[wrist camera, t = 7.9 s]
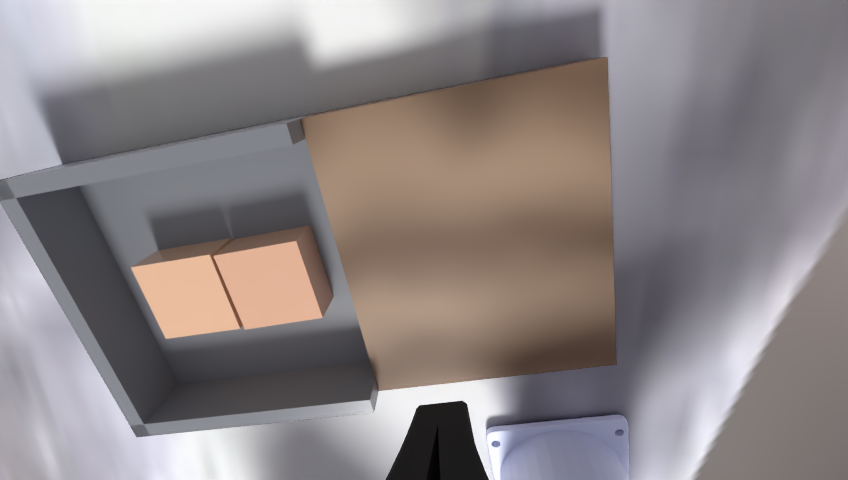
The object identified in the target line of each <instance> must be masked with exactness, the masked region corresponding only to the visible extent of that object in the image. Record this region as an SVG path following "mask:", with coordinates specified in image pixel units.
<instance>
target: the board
mask: <svg viewBox="0 0 848 480" xmlns="http://www.w3.org/2000/svg"><path fill="white" fill-rule="evenodd" d="M300 121H301V125H302V128H303V132H304V135H305V138H306V142H307V145H308V149H309V152H310V156H311V159H312V163H313V166H314V170H315V173H316V176H317V180H318V183H319V187H320V190H321V194H322V197H323V201H324V204H325V208H326V211H327V214H328V218H329V221H330V225H331V228H332V232H333V235H334V239H335V242H336V246H337V249H338V252H339V256H340V259H341V263H342V266H343V270H344V273H345V277H346V280H347V284H348V287H349V290H350V294H351V297H352V301H353V304H354V308H355V311H356V315H357V318H358V321H359V325H360V328H361V332H362V335H363V339H364V342H365V346H366V349H367V353H368V356H369V359H370V363H371V366H372V370H373V373H374V377H375V380H376V384H377V387H378V391H382V390H391V389H400V388H409V387H418V386H427V385H436V384H445V383H454V382H463V381H472V380H481V379H490V378H500V377H509V376H518V375H527V374H536V373H545V372H554V371H563V370H572V369H581V368H590V367H599V366H608V365H617V360H616V326H615V293H614V259H613V226H612V193H611V159H610V126H609V92H608V59H607V57H603V58H590V59H585V60H580V61H575V62H570V63H565V64H560V65H555V66H550V67H545V68H540V69H535V70H530V71H525V72H520V73H515V74H510V75H505V76H500V77H495V78H490V79H485V80H480V81H475V82H471V83H466V84H461V85H456V86H451V87H446V88H441V89H436V90H431V91H426V92H421V93H416V94H411V95H406V96H401V97H396V98H391V99H386V100H381V101H376V102H371V103H366V104H361V105H356V106H351V107H346V108H341V109H336V110H331V111H326V112H321V113H316V114H313V115H310V116H307V117H304V118H301V119H300Z"/></svg>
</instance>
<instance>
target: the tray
mask: <svg viewBox="0 0 848 480" xmlns="http://www.w3.org/2000/svg"><path fill="white" fill-rule="evenodd" d="M311 115H313V114H311ZM307 116H310V115H306V116H301V117H296V118H291V119H286V120H281V121H276V122H271V123H266V124H261V125H256V126H251V127H246V128H241V129H236V130H231V131H226V132H221V133H216V134H211V135H206V136H202V137H197V138H192V139H187V140H182V141H177V142H172V143H167V144H162V145H157V146H152V147H147V148H142V149H137V150H132V151H127V152H122V153H117V154H112V155H107V156H102V157H97V158H92V159H87V160H82V161H77V162H72V163H67V164H62V165H58V166H54V167H50V168H46V169H42V170H38V171H34V172H30V173H26V174H22V175H18V176H14V177H10V178H6V179H2V180H0V203H1V205H2V207H3V208H4V210H5V212H6V213H7V215H8V217H9V219H10V220H11V222H12V224H13V225H14V227H15V229H16V231H17V232H18V234H19V236H20V238H21V239H22V241H23V243H24V244H25V246H26V248H27V250H28V251H29V253H30V255H31V256H32V258H33V260H34V262H35V263H36V265H37V267H38V268H39V270H40V272H41V274H42V275H43V277H44V279H45V280H46V282H47V284H48V286H49V287H50V289H51V291H52V292H53V294H54V296H55V298H56V299H57V301H58V303H59V305H60V306H61V308H62V310H63V311H64V313H65V315H66V317H67V318H68V320H69V322H70V323H71V325H72V327H73V329H74V330H75V332H76V334H77V335H78V337H79V339H80V341H81V342H82V344H83V346H84V347H85V349H86V351H87V353H88V354H89V356H90V358H91V360H92V361H93V363H94V365H95V366H96V368H97V370H98V372H99V373H100V375H101V377H102V378H103V380H104V382H105V384H106V385H107V387H108V389H109V390H110V392H111V394H112V396H113V397H114V399H115V401H116V402H117V404H118V406H119V408H120V409H121V411H122V413H123V414H124V416H125V418H126V420H127V421H128V423H129V425H130V427H131V428H132V430H133V432H134V433H135V435H136V437H144V436H153V435H163V434H172V433H182V432H192V431H201V430H211V429H220V428H230V427H240V426H249V425H259V424H268V423H278V422H288V421H297V420H307V419H316V418H326V417H336V416H345V415H355V414H364V413H374V409H375V405H376V400H377V396H378V387H377V384H376V380H375V377H374V373H373V370H372V366H371V363H370V359H369V356H368V353H367V349H366V346H365V342H364V339H363V335H362V332H361V328H360V325H359V321H358V318H357V315H356V311H355V308H354V304H353V301H352V297H351V294H350V290H349V287H348V284H347V280H346V277H345V273H344V270H343V266H342V263H341V259H340V256H339V252H338V249H337V246H336V242H335V239H334V235H333V232H332V228H331V225H330V221H329V218H328V214H327V211H326V208H325V204H324V201H323V197H322V194H321V190H320V187H319V183H318V180H317V176H316V173H315V170H314V166H313V163H312V159H311V156H310V152H309V149H308V145H307V142H306V138H305V135H304V132H303V128H302V125H301V121H300V119H301V118H304V117H307ZM309 225H310V226H311V229H312V232H313V235H314V238H315V241H316V244H317V247H318V251H319V254H320V257H321V260H322V263H323V266H324V269H325V272H326V275H327V278H328V281H329V284H330V287H331V290H332V293H333V296H334V297H333V299H332V301H331V303H330V305H329V307H328V309H327V310H326V312H325V314H324V316H323V318H318V319H312V320H305V321H299V322H292V323H286V324H279V325H272V326H266V327H259V328H253V329H246V330H245V329H244V326H242V327H241V328H240V329H235V330H228V331H220V332H213V333H206V334H198V335H191V336H183V337H176V338H169V339H166V338H165V336H164V334H163V332H162V330H161V328H160V326H159V324H158V322H157V320H156V318H155V316H154V314H153V312H152V310H151V308H150V306H149V304H148V302H147V300H146V298H145V296H144V294H143V292H142V290H141V288H140V285H139V283H138V281H137V279H136V277H135V275H134V273H133V271H132V269H131V267H132V266H134V265H135V264H137V263H138V262H140V261H142V260H143V259H145V258H147V257H148V256H150V255H151V254H153V253H155V252H156V251H158V250H162V249H168V248H175V247H181V246H187V245H193V244H199V243H205V242H211V241H217V240H223V239H229V238H231V240H232V241H233V240H234V239H238V238H244V237H249V236H255V235H260V234H266V233H271V232H276V231H282V230H287V229H293V228H298V227H304V226H309Z"/></svg>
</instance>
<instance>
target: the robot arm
mask: <svg viewBox="0 0 848 480" xmlns="http://www.w3.org/2000/svg"><path fill="white" fill-rule="evenodd" d="M618 429H620V430H618ZM616 430H618V431H616ZM486 439H487V445H488V450H489V456H490V461H491V467H492V472H493V478H494V480H629V442H628V422H627V420H626V418H625V417H624V416H622V415H608V416H598V417H587V418H577V419H566V420H556V421H546V422H535V423H525V424H514V425H504V426H494V427H490V428H488V429H487V431H486ZM493 441H497V442H493ZM386 480H489V479H488V477H487V474H486V472H485V470H484V467H483V464H482V462H481V459H480V457H479V454H478V451H477V449H476V446H475V442H474V437H473V432H472V427H471V422H470V417H469V412H468V407H467V404H466V403H465V402H463V401H456V402H447V403H438V404H429V405H420V406H419V407H418V408H417V409H416V412H415V415H414V417H413V420H412V423H411V425H410V428H409V430H408V433H407V435H406V438H405V440H404V442H403V444H402V447H401V449H400V451H399V453H398V455H397V457H396V460H395V462H394V464H393V466H392V468H391V470H390V472H389V474H388V476H387V478H386Z"/></svg>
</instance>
